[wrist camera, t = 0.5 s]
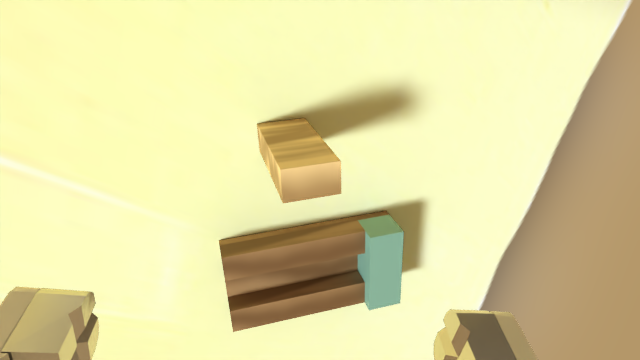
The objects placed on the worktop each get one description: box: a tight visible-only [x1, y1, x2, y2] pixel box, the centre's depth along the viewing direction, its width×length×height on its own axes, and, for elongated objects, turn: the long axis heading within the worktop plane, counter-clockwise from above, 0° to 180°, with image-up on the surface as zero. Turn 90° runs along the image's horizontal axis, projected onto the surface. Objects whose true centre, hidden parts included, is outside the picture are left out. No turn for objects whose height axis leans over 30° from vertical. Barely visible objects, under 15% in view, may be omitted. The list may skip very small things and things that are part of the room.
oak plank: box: [257, 118, 341, 203], centre depth 43 cm, size 3×5×12 cm, turn 92°
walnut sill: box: [219, 211, 404, 332], centre depth 53 cm, size 10×20×5 cm, turn 92°
